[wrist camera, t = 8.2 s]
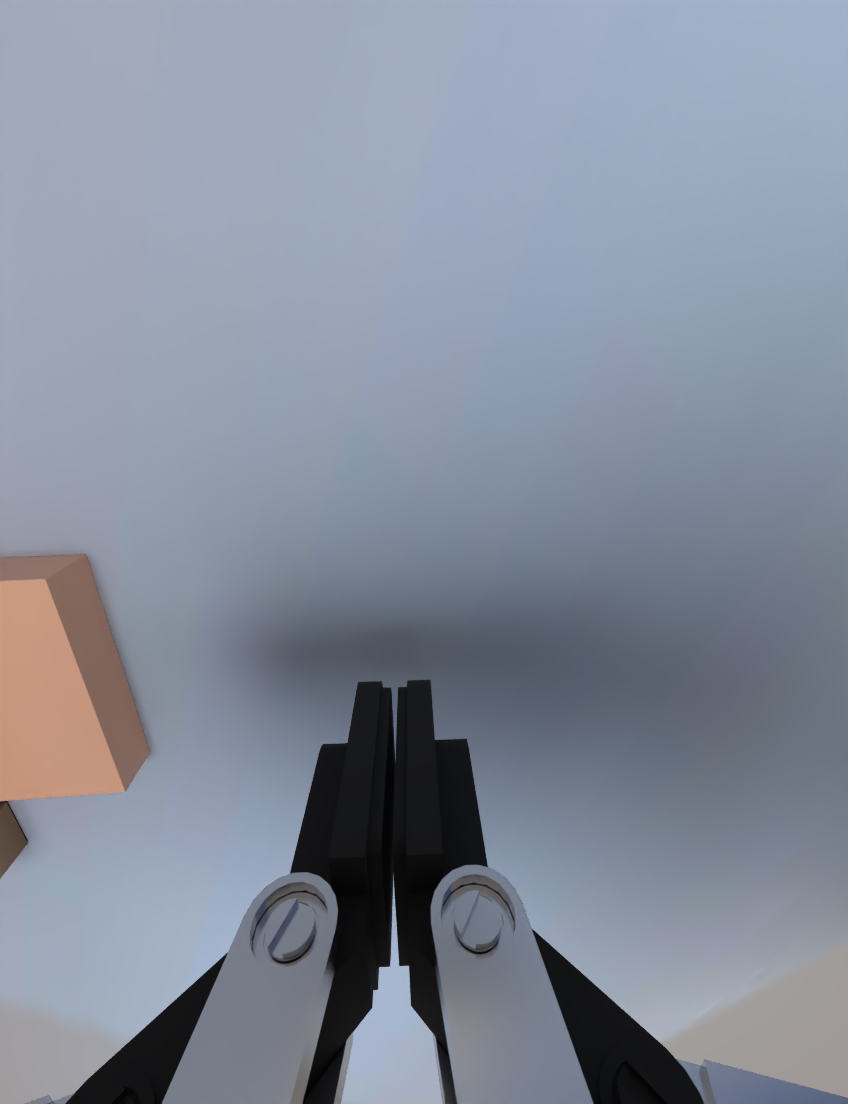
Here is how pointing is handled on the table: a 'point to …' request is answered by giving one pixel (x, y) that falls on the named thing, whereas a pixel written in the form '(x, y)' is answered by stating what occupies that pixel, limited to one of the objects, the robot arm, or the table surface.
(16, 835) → the wooden channel block
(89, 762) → the salmon pink flat block
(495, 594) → the table surface
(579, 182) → the table surface
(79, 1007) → the table surface
